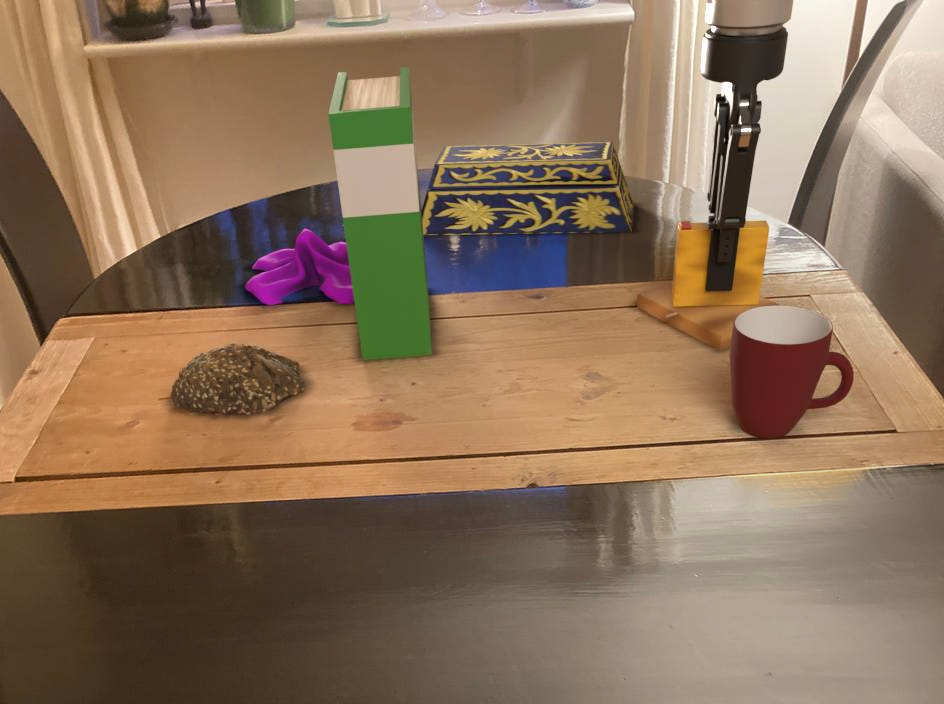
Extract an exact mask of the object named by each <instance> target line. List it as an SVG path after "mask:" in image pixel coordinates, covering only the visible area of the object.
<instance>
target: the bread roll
mask: <svg viewBox="0 0 944 704" xmlns="http://www.w3.org/2000/svg"><path fill="white" fill-rule="evenodd" d="M299 367H300V363H299V362H298V361H297V360H292V359H291V358H289V357H286V356H283V355H281V354H277V353H275V352H274V351H271V350H266V349H265V348H264V347H259V346H258V345H245V344H243V343H241V344H238V343H235V342H231V343H228V344H227V345H223V346H221V347H216V348H213V349H211V350H209V351H207V352H201V353H200V354H198V355H196V356H195V357H193V358H192V359H191V360H190V361H188V363H187V365H186V366H183V367H181V368H182V369H181V370H179V372H178V378H177V379H175V381H174V382H173V384H172V386H171V387H172V388H171V394H170V397H171V401H172V402H173V403H174V404H175V405H176V407H178V408H181V409H183V410H187V411H189V412H191V413H199V414H207V415H211V416H227V415H233V416H250V415H256V414H257V415H258V414H262V413H266V412H269V411H271V410H273V409H274V408H275V407H276V406H277V405H278V404H280V403H281V402H282V401H283V400H284V399H286V398H288V397H294V396H295V397H296V396H298V395H299V394H301V393H303V392H304V391H305V388H306V382H305V380H304V379H303V378H302V376H300V375H299V374H300V368H299Z"/></svg>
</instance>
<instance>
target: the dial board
mask: <svg viewBox="0 0 944 704" xmlns="http://www.w3.org/2000/svg"><path fill="white" fill-rule="evenodd" d="M672 285H673V282H672V283H668V284H664V285H662V286H658V287H656V288H652V289H649V290H645V291H642V292H638V293H637V300H636V308H638V309H640V310H641V311H644V313H647V314H649V315H651V316H653V317H655V318H657V319H659V320H660V321H662V322H665V323H666V324H668V325H670V326H672V327H674V328H676V329H678V330H680V331H681V332H684V333H685V334H688V335H690V336H692V337H693V338H695V339H697V340H699V341H702V342H703V343H704V344H707V345H709V346H710V347H712V348H714V349H716V350H718V351H722V350H725V349H728V348H729V349H730V342H731V335H732V329H733V323H734V320H735V318H736V317H737V316H738V315H739V314H741V313H742V312H744V311H746V310H749V309H752V308H756V307H761V306H771V305H780V304H779V303H777V302H775V301H774V300H773V301H772V300H771V299H768V298H766V297H763V296H762V295H760V296H759V303H758V305H720V306H682V307H673V304H672V299H671V297H672ZM762 288H763V286H762V285H761V289H762Z"/></svg>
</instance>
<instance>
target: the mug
mask: <svg viewBox="0 0 944 704" xmlns="http://www.w3.org/2000/svg"><path fill="white" fill-rule="evenodd" d="M833 327H834V326H833V323H832V321H831V320H830V319H829V318H828V317H827V316H825V315H823V314H822V313H820V312H818V311H816V310H812V309H809V308H806V307H801V306H795V305H783V304H779V305H771V306H761V307H756V308H752V309H749V310H746V311H744V312H742V313H741V314H739V315H738V316H737V317H736V318H735V320H734V323H733V329H732V335H731V342H730V347H729V374H730V375H729V376H730V393H731V394H730V397H731V404H732V408H733V412H734V414H735V416H736V419H737V421H738V424H739V426H740V428H741V430H742V431H743V432H744V433H745V434H747V435H749V436H751V437H754V438H758V439H765V440H771V439H772V440H773V439H779V438H782V437H783V438H784V437H785V436H787V435H789V434H790V432H791V431H792V430H793V429H794V428H795V427H796V425H797V424H798V423H799V421H800V420H801V419H802V418H803V417H804V415H805V414H806V413H807V411H808V410H817V409H818V410H819V409H826V408H830V407H832V406H834V405H837V404H839V403H840V402H842V401H843V400H844V399H845V398H846V397H847V396H848V394H849V393H850V391H851V389H852V386H853V383H854V375H855V373H854V368H853V366H852V364H851V361H850V360H849V359H848V358H847V356H846V355H845V354H843V353H840V352H837V351H830V348H831V342H832V336H833V331H834V328H833ZM827 366H833V367H836V368H837V369H838V370H839V372H840V376H841V379H840V383H839V385H838V387H837V388H836V389H835V391H833V392H832V393H831V394H829V395H826V396H823V397H818V398H813V397H814V394H815V391H816V389H817V387H818V384H819V381H820V379H821V376H822V374H823V372H824V371H825V368H826V367H827Z"/></svg>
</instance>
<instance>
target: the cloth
mask: <svg viewBox="0 0 944 704" xmlns="http://www.w3.org/2000/svg"><path fill="white" fill-rule="evenodd" d="M251 269H252V270H259V271H264V272H261V273H259V274H255V275H254V276H253V277H251V278H250V279H249V280H248V281H246V284H245V287H244V289H245V290H246V291H247V292H249V293H250V294H252V295H253V296H254V297H255V298H257V299H258V300H259V301H260V302H261V303H262V304H265V305H267V306H274V305H278V304H283V302H282V299H283V298H285V297H286V296H289V295H291V294H293V293H295V292H298V291H301V290H303V289H305V288H309V287H311V286H317V287H318V288H319V292H320V293H323V294H324V296H326V297H327V298H328V299H330V300H332V301H335V302H336V303H337V304H339V305H352V304H353V303H355V302H354V295H353V288H352V280H351V273H350V266H349V259H348V252H347V244H346V242H344V241H339V242H334V243H332V244H330V245H328V243H326V242H325V241H324V240H323V239H322V238H320V237H319V236H317V234H315V233H314V232H313V231H312V230H309V229H307V228H304V229H303V230H302V231H300V233H299V234H298V236H297V237H296V239H295V247H294V248H283V249H279V250H276V251H273V252H271V253H268V254H266V255H264V256H262V257H260V258H259V259H257V261H256V262H255V263H254V265H253V266H252V268H251Z"/></svg>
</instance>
